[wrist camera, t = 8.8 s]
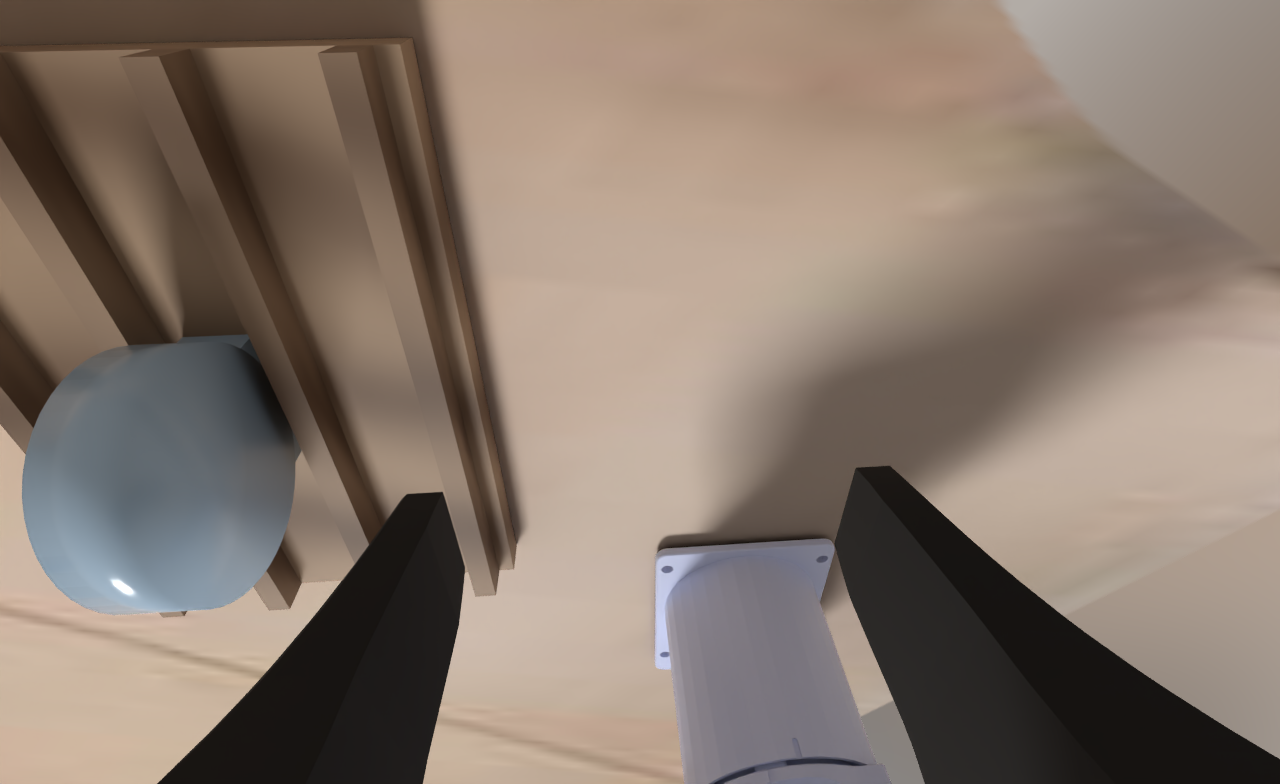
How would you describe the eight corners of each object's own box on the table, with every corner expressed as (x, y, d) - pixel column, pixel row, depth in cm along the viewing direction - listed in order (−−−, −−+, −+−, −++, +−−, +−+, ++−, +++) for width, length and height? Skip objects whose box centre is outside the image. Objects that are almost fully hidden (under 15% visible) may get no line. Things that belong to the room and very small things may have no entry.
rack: (516, 546, 26) (510, 594, 24) (180, 567, 25) (146, 618, 23) (412, 37, 15) (385, 51, 13) (-206, 50, 14) (-333, 67, 12)
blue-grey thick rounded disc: (317, 473, 21) (218, 665, 15) (258, 477, 21) (138, 671, 15) (234, 294, 17) (59, 468, 11) (161, 297, 17) (-54, 473, 11)
